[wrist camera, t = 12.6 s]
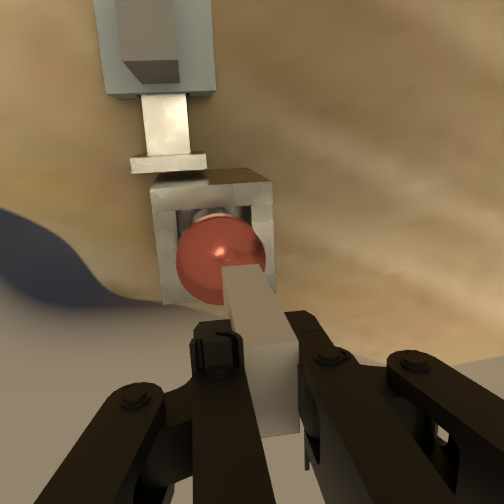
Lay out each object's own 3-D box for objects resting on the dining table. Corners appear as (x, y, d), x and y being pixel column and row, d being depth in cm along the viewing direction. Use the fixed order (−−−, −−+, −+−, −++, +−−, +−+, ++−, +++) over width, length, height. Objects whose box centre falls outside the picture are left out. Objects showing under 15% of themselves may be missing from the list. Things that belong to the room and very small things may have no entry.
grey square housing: (247, 167, 34) (272, 181, 24) (251, 250, 36) (275, 293, 26) (154, 173, 33) (142, 189, 23) (163, 258, 35) (155, 305, 25)
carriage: (205, 7, 30) (222, -88, 17) (211, 96, 32) (230, 70, 19) (105, 7, 29) (41, -93, 16) (116, 99, 31) (68, 75, 18)
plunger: (244, 194, 28) (264, 215, 21) (247, 259, 29) (267, 300, 22) (174, 199, 27) (171, 222, 20) (181, 265, 29) (180, 309, 22)
